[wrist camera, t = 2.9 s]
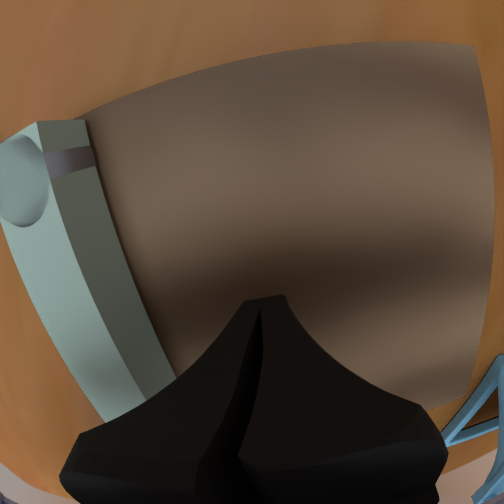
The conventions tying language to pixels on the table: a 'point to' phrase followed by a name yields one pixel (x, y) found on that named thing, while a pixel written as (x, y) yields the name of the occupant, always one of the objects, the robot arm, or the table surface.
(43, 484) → the table surface
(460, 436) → the chair
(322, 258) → the stool seat
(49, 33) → the table surface
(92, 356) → the folding leg
